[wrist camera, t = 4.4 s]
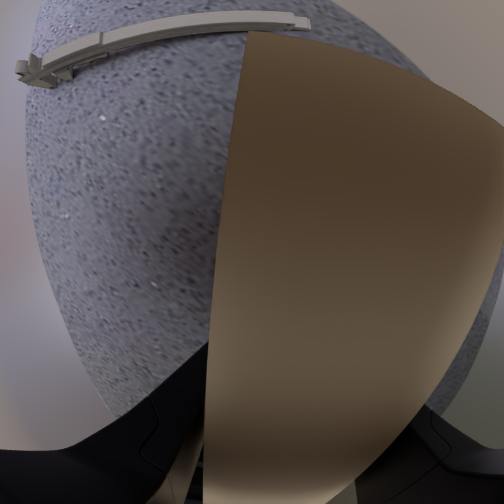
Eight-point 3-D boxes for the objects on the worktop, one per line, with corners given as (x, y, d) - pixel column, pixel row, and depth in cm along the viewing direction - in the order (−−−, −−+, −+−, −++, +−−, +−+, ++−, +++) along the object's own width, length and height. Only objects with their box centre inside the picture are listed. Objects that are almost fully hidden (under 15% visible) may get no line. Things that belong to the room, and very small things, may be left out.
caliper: (54, 91, 15) (3, 83, 9) (55, 79, 14) (5, 69, 8) (310, 32, 14) (330, -13, 8) (308, 20, 13) (326, -26, 7)
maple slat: (292, 440, 12) (298, 521, 7) (215, 433, 11) (203, 517, 7) (389, 139, 7) (519, 139, 2) (256, 109, 7) (249, 30, 2)
